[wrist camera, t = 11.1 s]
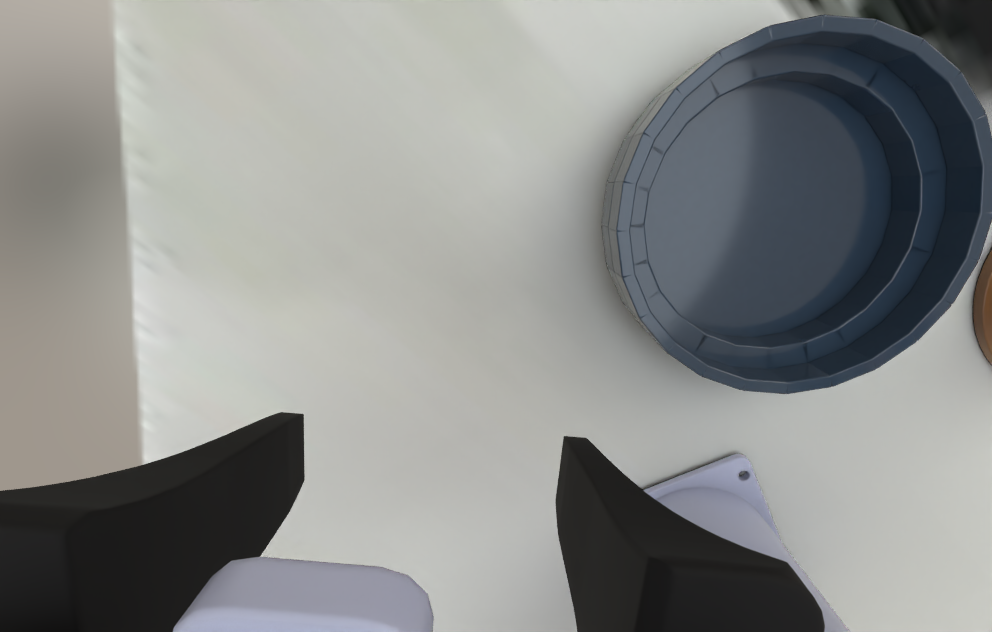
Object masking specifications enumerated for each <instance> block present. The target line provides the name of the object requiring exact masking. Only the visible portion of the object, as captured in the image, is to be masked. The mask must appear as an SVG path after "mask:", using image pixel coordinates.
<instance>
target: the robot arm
mask: <svg viewBox="0 0 992 632" xmlns="http://www.w3.org/2000/svg"><path fill="white" fill-rule="evenodd" d="M742 471H746V472H745V474H744V475H742V476H738V475H739V473H740V472H742ZM303 482H304V414H295V413H283V412H281V413H278V414H274V415H272V416H269V417H266V418H264V419H261V420H259V421H257V422H254V423H252V424H250V425H248V426H245V427H243V428H241V429H238V430H236V431H234V432H231V433H229V434H227V435H225V436H222V437H220V438H217V439H215V440H212V441H210V442H207V443H205V444H202V445H200V446H197V447H195V448H192V449H190V450H187V451H184V452H182V453H179V454H176V455H173V456H170V457H167V458H164V459H161V460H158V461H154V462H151V463H148V464H144V465H141V466H137V467H134V468H130V469H125V470H121V471H117V472H113V473H109V474H104V475H100V476H96V477H91V478H86V479H81V480H76V481H71V482H65V483H59V484H52V485H46V486H39V487H32V488H24V489H15V490H5V491H0V632H433V619H434V617H433V613H432V609H431V605H430V601H429V597H428V594H427V593H426V592H425V591H424V590H423V589H422V588H421V587H420V586H419V585H418V584H417V583H416V582H415V581H414V580H413V579H412V578H410V577H409V576H408V575H405V574H402V573H399V572H396V571H392V570H389V569H386V568H383V567H376V566H364V565H352V564H340V563H328V562H316V561H304V560H292V559H280V558H268V557H260V556H261V554H262V553H263V551H264V550H265V548H266V547H267V545H268V544H269V542H270V541H271V539H272V538H273V536H274V535H275V533H276V532H277V530H278V529H279V527H280V526H281V524H282V522H283V521H284V519H285V518H286V516H287V515H288V513H289V512H290V510H291V508H292V506H293V504H294V502H295V500H296V498H297V495H298V493H299V491H300V489H301V487H302V484H303ZM556 514H557V527H558V536H559V541H560V546H561V550H562V555H563V560H564V565H565V569H566V574H567V578H568V583H569V588H570V592H571V597H572V602H573V606H574V612H575V618H576V624H577V632H850V631H849V629H848V628H847V627H846V625H845V624H844V623H843V622H842V620H841V619H840V618H839V616H838V615H837V614H836V612H835V611H834V610H833V609H832V607H831V606H830V605H829V603H828V602H827V601H826V599H825V598H824V597H823V596H822V594H821V593H820V592H819V590H818V589H817V588H816V586H815V585H814V584H813V583H812V581H811V580H810V579H809V577H808V576H807V575H806V573H805V572H804V571H803V569H802V568H801V567H800V566H799V564H798V563H797V562H796V560H795V559H794V558H793V556H792V555H791V554H790V553H789V551H788V550H787V549H786V547H785V546H784V545H783V543H782V541H781V539H780V536H779V534H778V531H777V529H776V526H775V523H774V521H773V518H772V516H771V513H770V511H769V508H768V506H767V503H766V501H765V498H764V496H763V493H762V490H761V488H760V485H759V483H758V480H757V478H756V475H755V473H754V470H753V468H752V465H751V463H750V461H749V460H748V459H747V457H746V456H744V455H743V454H734V455H731V456H729V457H726V458H724V459H721V460H718V461H716V462H713V463H711V464H708V465H706V466H703V467H701V468H698V469H696V470H693V471H690V472H688V473H685V474H683V475H680V476H678V477H675V478H673V479H670V480H667V481H665V482H662V483H660V484H657V485H655V486H652V487H650V488H647V489H645V490H642V489H641V488H640V487H638V486H637V485H636V484H635V483H634V482H632V481H631V480H630V479H629V478H628V477H627V476H625V475H624V474H623V473H622V472H621V471H620V470H619V469H618V468H617V467H616V466H614V465H613V464H612V463H611V462H610V461H609V460H608V459H607V458H606V457H605V456H604V455H603V454H602V453H601V452H600V451H599V450H598V449H597V448H596V447H595V446H594V445H593V444H592V443H591V442H590V441H589V440H588V439H587V438H580V437H568V436H564V440H563V447H562V455H561V463H560V471H559V478H558V486H557V494H556Z"/></svg>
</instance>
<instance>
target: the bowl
mask: <svg viewBox="0 0 992 632" xmlns="http://www.w3.org/2000/svg"><path fill="white" fill-rule="evenodd" d="M607 182H608V183H607V185H606V193H605V201H604V208H603V216H602V226H601V227H602V234H603V242H604V249H605V257H606V264H607V265H608V270H609V272H610V274H611V277H612V279H613V281H614V284H615V286H616V288H617V291H618V293H619V296H620V298H621V300H622V301H623V303H624V305H625V306H626V307H627V308H628V309H629V311H630V312H631V313H632V314H633V316H634V317H635V318H636V319H637V321H638V322H639V323H640V324H641V325H642V327H643V328H644V329H645V330H646V331H647V332H648V333H649V334H650V335H651V337H652V338H653V339H654V340H655V341H656V342H657V343H658V344H659V345H660V346H661V347H662V348H663V349H664V350H665V351H666V352H667V353H668V354H670V355H671V356H672V357H674V358H675V359H677V360H678V361H680V362H681V363H682V364H684V365H685V366H687V367H688V368H690V369H691V370H693V371H694V372H695V373H697V374H698V375H700V376H702V377H704V378H707V379H710V380H713V381H716V382H719V383H722V384H724V385H727V386H730V387H733V388H736V389H739V390H743V391H754V392H766V393H779V394H790V393H796V392H803V391H809V390H815V389H822V388H828V387H831V386H836V385H838V384H841V383H843V382H846V381H848V380H851V379H853V378H856V377H858V376H861V375H863V374H866V373H868V372H871V371H873V370H875V369H876V368H879V367H880V366H882V365H883V364H885V363H886V362H888V361H889V360H891V359H892V358H894V357H895V356H896V355H898V354H899V353H901V352H902V351H904V350H905V349H907V348H908V347H910V346H911V345H913V344H914V343H916V342H917V341H918V340H919V339H920V338H921V337H922V336H923V335H924V334H925V333H926V332H927V331H928V330H929V329H930V328H931V327H932V325H933V324H934V323H935V322H936V321H937V320H938V319H939V318H940V317H941V316H942V315H943V314H944V313H945V312H946V311H947V310H948V309H949V308H950V307H951V304H953V303H954V301H955V299H956V298H957V296H958V294H959V293H960V291H961V289H962V288H963V286H964V284H965V283H966V281H967V279H968V278H969V276H970V275H971V273H972V271H973V270H974V268H975V266H976V265H977V263H978V261H977V260H979V259H980V256H981V252H982V249H983V246H984V243H985V240H986V237H987V234H988V231H989V228H990V224H991V221H992V136H991V132H990V128H989V123H988V119H987V115H986V114H985V110H984V109H983V107H982V105H981V104H980V102H979V100H978V99H977V97H976V95H975V93H974V92H973V90H972V88H971V87H970V85H969V83H968V81H967V80H966V78H965V76H964V75H963V73H962V72H960V69H958V68H957V67H956V66H955V65H954V64H953V63H951V62H950V61H949V60H948V59H947V58H946V57H945V56H943V55H942V54H941V53H940V52H939V51H938V50H936V49H935V48H934V47H933V46H932V45H931V44H930V43H928V42H927V41H926V40H924V39H923V38H921V37H919V36H917V35H914V34H912V33H909V32H907V31H904V30H902V29H899V28H897V27H895V26H892V25H890V24H887V23H885V22H882V21H880V20H876V19H871V18H859V17H846V16H834V15H819V16H814V17H809V18H804V19H799V20H794V21H789V22H784V23H780V24H775V25H770V26H769V27H765V28H763V29H761V30H759V31H757V32H755V33H753V34H751V35H749V36H747V37H745V38H743V39H741V40H739V41H737V42H735V43H733V44H731V45H729V46H727V47H725V48H723V49H721V50H719V51H717V52H716V53H714V54H713V55H711V56H709V57H708V58H706V59H705V60H703V61H702V62H700V63H698V64H697V65H695V66H694V67H692V68H690V69H689V70H688V71H686V72H685V73H684V74H682V75H681V76H680V77H679V78H678V79H677V80H675V81H674V82H673V83H672V84H671V85H670V86H669V87H667V88H666V89H665V90H664V91H663V92H662V93H660V94H659V95H658V96H657V97H656V98H655V99H653V101H652V102H651V103H650V104H649V105H648V106H647V108H646V109H645V111H644V112H643V113H642V115H641V116H640V118H639V119H638V120H637V122H636V123H635V125H634V126H633V127H632V129H631V130H630V132H629V133H628V134H627V136H626V137H625V140H624V141H623V142H622V145H621V148H620V150H619V153H618V155H617V158H616V160H615V163H614V165H613V168H612V170H611V173H610V175H609V178H608V180H607Z"/></svg>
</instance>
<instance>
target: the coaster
mask: <svg viewBox="0 0 992 632" xmlns="http://www.w3.org/2000/svg"><path fill="white" fill-rule="evenodd" d="M973 320H974V327H975V332H976V336H977V339H978V342H979V345H980V347H981V349H982V351H983V353H984V355H985V357H986V358H987V359H988V361H989V362H990V363H991V365H992V249H991V251H990V253H989V255H988V257H987V259H986V261H985V263H984V265H983V268H982V270H981V273H980V275H979V278H978V282H977V286H976V290H975V296H974V304H973Z"/></svg>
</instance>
